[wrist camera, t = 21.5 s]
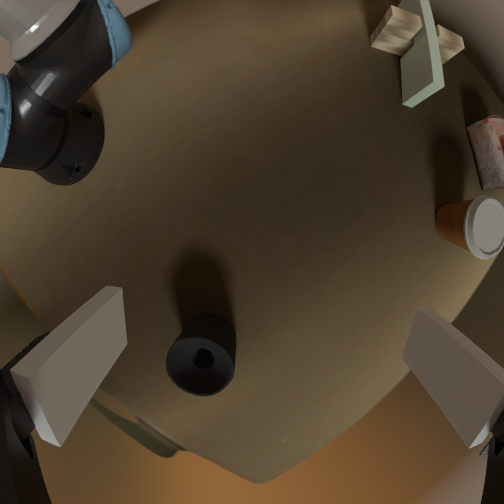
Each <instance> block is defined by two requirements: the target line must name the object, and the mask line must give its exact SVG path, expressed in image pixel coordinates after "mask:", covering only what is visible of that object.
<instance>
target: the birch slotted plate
mask: <svg viewBox="0 0 504 504" xmlns="http://www.w3.org/2000/svg"><path fill="white" fill-rule="evenodd" d="M421 28H422V23H421V18H420V16H418V15H415V14H413V13H410V12H408V11H406V10H403V9H400V8H398V7H395V6H392V5H391V6H390V8H389V9H388V11H387V12H386V14H385V15H384V17H383V18H382V20H381V21H380V23H379V24H378V26H377V27H376V29H375V30H374V32H373V33H372V35H371V37H370V40H371V47H374V48H378V49H381V50H384V51H387V52H390V53H393V54H396V55H398V56H401V57H403V56H404V55H405V54H406V53H407V52H408V51H409V50H410V49H411V48H412V47H413V46H414V42H413V36H414V35H415V34H416V33H417V32H418V31H419V30H420V29H421ZM435 29H436V34H437V39H438V44H439V50H440V56H441V63H442V64H444V63H445V62H446V61H448V60H449V59H450V58H452V57H453V56H454V55H456V54H457V53H458V52H460V51H461V50H462V49H464V43H463V39H462V37H460V36H459V35H457V34H455V33H453V32H451V31H449V30H447V29H445V28H443V27H441V26H439V25H437V26H436V27H435Z"/></svg>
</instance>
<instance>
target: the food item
mask: <svg viewBox="0 0 504 504" xmlns="http://www.w3.org/2000/svg"><path fill="white" fill-rule="evenodd" d="M466 129H467V132H468V135H469V138H470V141H471V144H472V147H473V152H474V155H475V159H476V163H477V168H478V172H479V176H480V180H481V186H482V190H491V189H494V190H495V189H499V188H504V119H501V117H500V116H497V115H493V116H488V117H487V118H485V119H484V120H481V121H478V122H476V123H474V124H472V125H470V126H469V127H468V128H466Z"/></svg>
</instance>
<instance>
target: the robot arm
mask: <svg viewBox="0 0 504 504" xmlns="http://www.w3.org/2000/svg"><path fill="white" fill-rule="evenodd" d="M0 36H2V37H3V38H5V39H6V40H8V41H9V42H10V58H11V59H12V60H13V61H15V62H16V64H15V65H14V66H13V68H12V69H11V70H10V71H9V72H8V74H7V75H5V74H0V167H3V168H12V169H21V170H29V171H34V172H36V173H37V174H38V175H40V176H41V177H42V178H44V179H45V180H46V181H48V182H50V183H52V184H55V185H64V186H65V185H72V184H74V183H77V182H78V181H80V180H82V179H83V178H84V177H85V176H86V175H87V174H88V173H89V172H90V171H91V170H92V168H93V167H94V165H95V164H96V162H97V160H98V158H99V156H100V153H101V150H102V147H103V142H104V126H103V122H102V119H101V117H100V115H99V114H98V113H97V112H96V111H95V110H94V109H92V108H91V107H89V106H87V105H85V104H82V103H76V102H77V100H78V99H79V98H80V97H81V96H82V95H83V94H84V93H85V92H86V91H87V90H88V89H89V88H90V87H91V86H92V85H93V84H94V83H95V82H96V81H97V80H98V79H99V78H100V77H101V76H102V75H103V74H105V73H106V72H107V71H108V70H109V69H112V68H114V66H115V64H116V63H117V62H118V61H119V60H120V59H121V58H122V57H123V56H125V55H126V54H127V53H128V52H129V51H130V49H131V47H132V44H133V37H132V33H131V31H130V28H129V26H128V24H127V22H126V20H125V19H124V17H123V15H122V14H121V12H120V11H119V9H118V8H117V6H115V5H114V3H113V2H112V0H0ZM127 344H128V343H127V335H126V326H125V317H124V305H123V292H122V288H120V287H113V286H106V287H104V288H103V289H102V290H101V291H100V292H98V293H97V294H96V295H95V296H93V297H92V298H91V299H90V300H89V301H87V302H86V303H85V304H84V305H82V306H81V307H80V308H79V309H78V310H76V311H75V312H74V313H73V314H72V315H71V316H69V317H68V318H67V319H66V320H65V321H64V322H62V323H61V324H60V325H59V326H58V327H57V328H55V329H54V330H53V331H52V332H51V333H50V332H47V333H45V334H43V335H41V336H39V337H37V338H36V339H34V340H33V341H32V342H31V343H30V344H29V346H26V347H25V348H24V349H23V350H22V352H20V353H18V354H17V355H16V356H15V357H14V358H13V359H12V360H11V361H10V362H9V363H7V364H6V365H5V366H4V367H3V368H2V369H1V370H0V504H52V503H51V500H50V498H49V495H48V492H47V489H46V485H45V482H44V479H43V476H42V472H41V468H40V465H39V461H38V457H37V453H36V449H35V444H34V440H33V438H32V436H31V434H30V433H31V432H32V430H33V429H34V428H35V427H36V429H37V431H38V433H39V435H40V437H41V438H42V439H43V440H45V441H47V442H49V443H52V444H54V445H56V446H59V447H61V446H62V444H63V443H64V441H65V439H66V438H67V436H68V434H69V432H70V431H71V429H72V428H73V426H74V425H75V423H76V421H77V420H78V418H79V416H80V415H81V413H82V412H83V410H84V408H85V407H86V405H87V404H88V402H89V401H90V399H91V398H92V396H93V394H94V393H95V391H96V390H97V388H98V387H99V385H100V384H101V382H102V381H103V379H104V378H105V376H106V375H107V373H108V372H109V370H110V369H111V367H112V366H113V364H114V363H115V361H116V360H117V358H118V357H119V355H120V354H121V352H122V351H123V349H124V348H125V346H126V345H127ZM402 359H403V360H404V361H405V363H406V364H407V365H408V366H409V368H410V369H411V370H412V372H413V373H414V374H415V375H416V377H417V378H418V379H419V380H420V382H421V383H422V385H423V386H424V387H425V388H426V390H427V391H428V393H429V394H430V395H431V397H432V398H433V399H434V401H435V402H436V403H437V405H438V406H439V407H440V409H441V410H442V412H443V413H444V414H445V415H446V417H447V418H448V420H449V421H450V423H451V424H452V426H453V427H454V428H455V430H456V431H457V432H458V434H459V435H460V437H461V438H462V440H463V441H464V443H465V444H466V446H467V447H468V448H471V447H473V446H476V445H478V444H480V443H482V442H483V440H484V439H485V437H486V436H487V435H488V433H489V432H490V431H491V432H492V433H493V437H492V438H491V439H490V441H489V442H488V443H487V445H486V446H485V447H484V449H483V450H482V451H481V453H480V455H479V457H482V455H483V454H484V453H485V452H487V451H488V453H487V455H486V456H485V457H484V459H487V468H486V476H485V483H484V489H483V495H482V500H481V504H504V369H503V368H501V367H500V366H499V365H498V364H497V363H496V362H495V361H493V360H492V359H491V358H490V357H489V356H488V355H487V354H486V353H484V352H483V351H482V350H481V349H480V348H479V347H477V346H476V345H475V344H474V343H473V342H472V341H470V340H469V339H468V338H467V337H466V336H464V335H463V334H462V333H461V332H460V331H458V330H457V329H456V328H455V327H454V326H452V325H451V324H450V323H449V322H447V321H446V320H445V319H444V318H442V317H441V316H440V315H439V314H437V313H436V312H435V311H434V310H432V309H431V308H430V307H417V310H416V314H415V317H414V321H413V324H412V327H411V331H410V334H409V337H408V340H407V343H406V346H405V349H404V352H403V355H402Z"/></svg>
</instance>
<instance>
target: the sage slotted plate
mask: <svg viewBox="0 0 504 504" xmlns="http://www.w3.org/2000/svg"><path fill="white" fill-rule="evenodd" d="M398 8H400V9H403V10H406V11H408V12H410V13H413V14H415V15H418V16H420V18H421V23H422V28H421V29H420V30H419V31H418V32H417V33H416V34H415V35H414V36H413V42H414V46H413V47H412V48H411V49H410V50H409V51H408V52H407V53H406V54H405V55H404V56H403V57H402V58H401V59H400V62H401V79H402V104H403V105H406V106H409V107H413V106H415V105H416V104H418V103H420V102H421V101H423V100H424V99H426V98H427V97H429V96H430V95H432V94H433V93H435V92H436V91H438V90H440V89H441V88H443V87H444V79H443V71H442V63H441V56H440V50H439V44H438V39H437V34H436V29H435V24H434V20H433V16H432V12H431V8H430V4H429V1H428V0H402V1H401V3H400V4H399V5H398Z"/></svg>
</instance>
